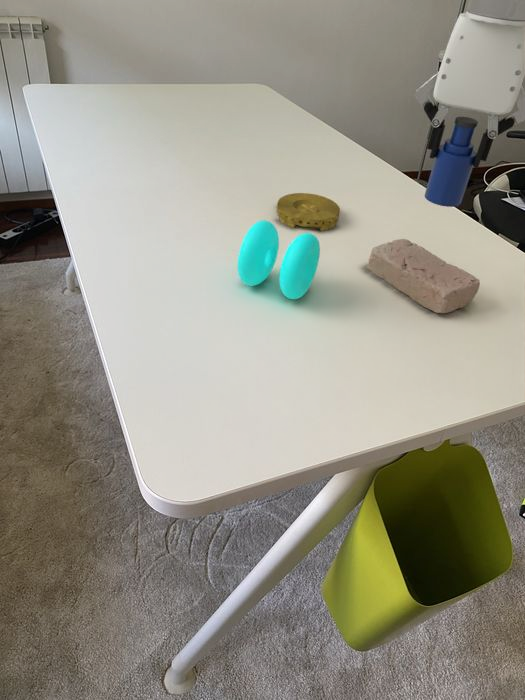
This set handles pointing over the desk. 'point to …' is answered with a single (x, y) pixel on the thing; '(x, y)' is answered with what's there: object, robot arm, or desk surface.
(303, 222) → the compass
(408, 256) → the brick
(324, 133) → the desk surface
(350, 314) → the desk surface
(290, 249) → the pair of turquoise discs
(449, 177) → the bottle
